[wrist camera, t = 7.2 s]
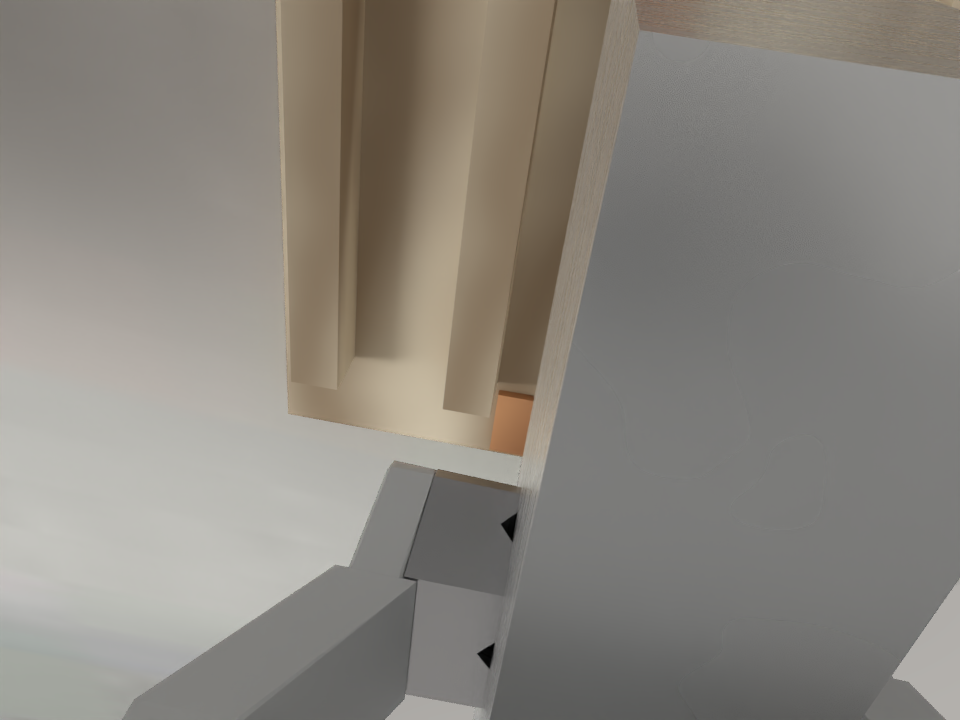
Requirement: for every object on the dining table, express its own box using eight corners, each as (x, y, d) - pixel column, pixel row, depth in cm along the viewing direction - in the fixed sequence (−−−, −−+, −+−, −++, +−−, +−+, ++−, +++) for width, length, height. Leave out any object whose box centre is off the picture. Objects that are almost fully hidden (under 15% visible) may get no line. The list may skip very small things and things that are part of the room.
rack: (297, 398, 28) (267, 448, 25) (279, -433, 16) (218, -491, 13) (782, 486, 27) (801, 548, 24) (1156, -328, 15) (1267, -370, 12)
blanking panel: (625, -69, 7) (639, 31, 2) (827, -40, 7) (1274, 126, 2) (483, 661, 14) (408, 1091, 9) (588, 684, 14) (572, 1132, 9)
